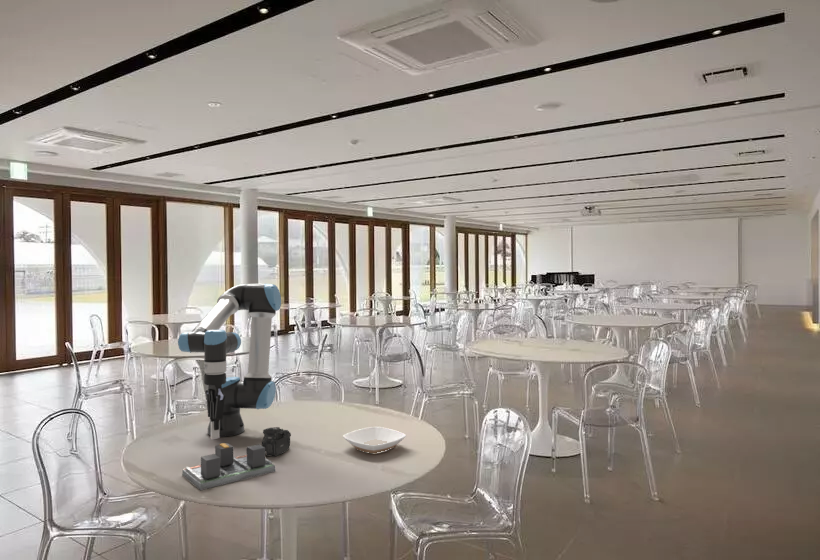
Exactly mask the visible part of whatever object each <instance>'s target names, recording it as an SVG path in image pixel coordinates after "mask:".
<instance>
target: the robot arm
mask: <svg viewBox="0 0 820 560" xmlns="http://www.w3.org/2000/svg"><path fill="white" fill-rule="evenodd" d="M281 306H282V296H281V292H280V289H279V288H278V286H277V285H276V284H272V283H241V284H237V285H235V286H233V287H231V288H229V289H227V290H225V291H224V292H223V293H222V294H221V295H220V296H219V297H218V299H217V301H216V303H215V304H214V306H213V307H212V308H211V309H210V311H209V312H208V313H207V314H206V315H205V316H204V317H203V318H202V319H201V321H200V322H199V323H198V324H197V325H196V326H195V328H194V329H192V331H190V332H189V331H186V332H182V333H180V334H179V337H178V339H177V344H178V349H179V351H181V352H182V353H191V354H192V353H204V358H203V359H204V361H203V363H204V364H203V366H202V367H203V368H204V370H203V372H204V373H205V374H203V384H204V385H206V386H208V387H207V389H205V390H204V391H205V396H206V397H205V398H206V407H207V408H206V409H207V417H208V418H209V423H208V426H207V435H208V436H210V439H211V440H217V439H220V438H223V437H232V436H235V435H240V434H242V433H243V432H245V424H244V421H243V417H242V414H241V409H245V410H246V409H250V410H251V409H252V410H253V409H254V410H266V409H269V408H270V407H271V405H273V402H274V399H275V397H276V392H277V387H276V382H275V381H272V376H271V375H270V374H269V370H270V369H269V368H270V351H271V336H272V320H273V318H274V317H275V316H276V315H277V313H276V312H277V311H280V310H281ZM238 311H248V313H247V314H248V315H249V316H250V318H251V321H250V322H251V324H250V337H249V338H250V339H249V353H248V364H247V365H248V367H247V373H246V374H245V375H244V376H243V380H241V377H240V376H230V377H229V376H228V377H227V373H226V372H227V354H230V353H234V352H235V351H237V350H239V349H240V347H241V346H242V338H241V337H240V335H239V334H238V333H236V332H232V331H228V332H226V330H225V329H221V328H222V326H223V325H224V324H225V323H226V321H227V320H228V319H229V318H230V317H231V316H232V315H234V314H236V313H237V312H238Z"/></svg>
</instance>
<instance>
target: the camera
mask: <svg viewBox="0 0 820 560" xmlns="http://www.w3.org/2000/svg"><path fill="white" fill-rule="evenodd" d="M262 434H263V435H264V436H263V438H262V440H261V446H263V447H265V456H267V457H277V456H279V455H282V454H283V453H285V452H286V451H288V450H289V449H290V446H291V436H292V433H291V432H290V431H289V430H288V429H283V428H281V427H279V426H275V427H267V428H265V429H263V430H262Z"/></svg>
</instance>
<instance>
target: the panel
mask: <svg viewBox="0 0 820 560" xmlns="http://www.w3.org/2000/svg"><path fill="white" fill-rule="evenodd" d="M275 472H276V465H275V464H273V461H271V460H270V459H267V458H266V457H265V465H263V466H258V467H254V468H253V467H251V466H249V465H248V464H247V454H245V455H239V456H236V457H235V456H233V464H230V465H225V466H220V476H217V477H213V478H209V479H206V478H204V477H203V476H202V475H201V464H200V465H196V466H191V467H189V466H185V468H183V469H182V476H183V477H184V478H185V479H186V480H188V482H190V483H191V484H192V485H193V486H195V487H196V488H197V489H198V490H199V491H203V490H206V489H207V490H208V489H211V488H215V487H218V486H224V485H226V484H231V483H235V482H239V481H243V480H246V479H251V478H254V477H258V476H263V475H266V474H270V473H275Z"/></svg>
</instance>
